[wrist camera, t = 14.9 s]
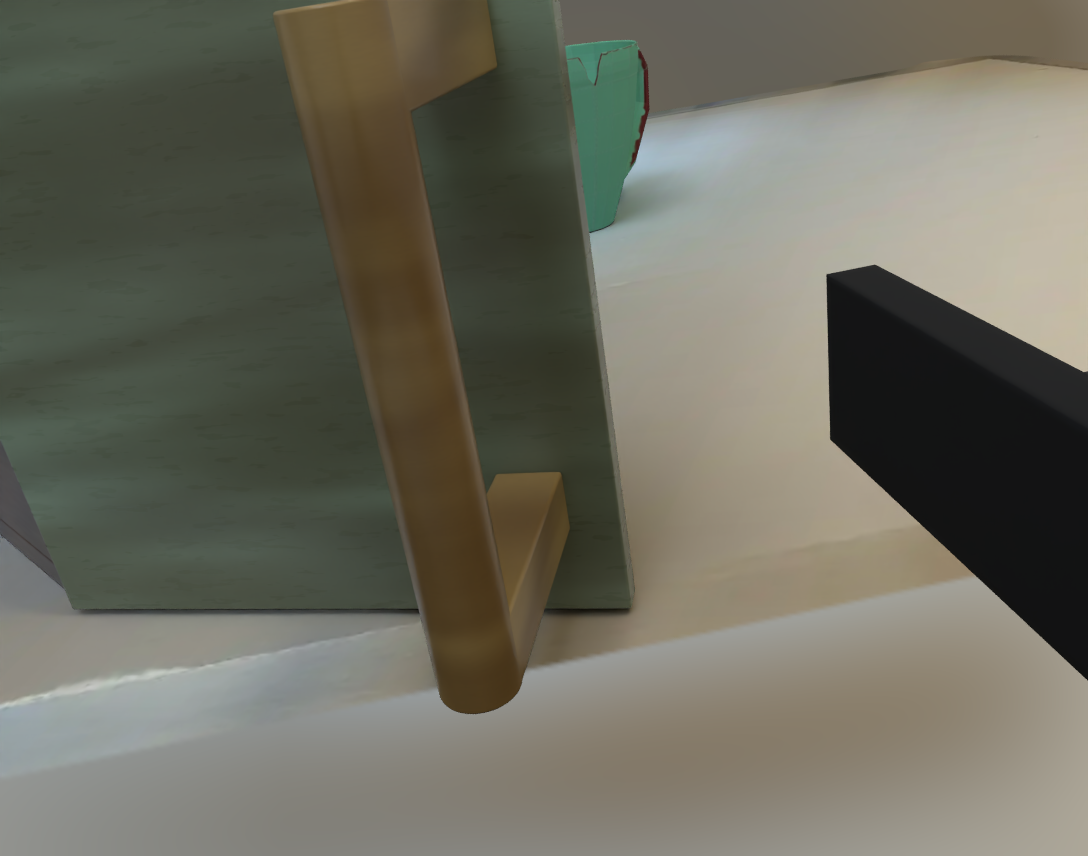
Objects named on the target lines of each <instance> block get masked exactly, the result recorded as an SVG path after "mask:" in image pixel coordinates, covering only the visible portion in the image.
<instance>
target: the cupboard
mask: <svg viewBox="0 0 1088 856" xmlns="http://www.w3.org/2000/svg"><path fill="white" fill-rule="evenodd" d="M0 534H1V535H2V536H3V537H5V538H6V539H7V540H8V541H9V542H10V543H12V544H13V545H14V546H15V547H16V548H17V549H19V550H20V551H21V552H22V553H23V554H25V555H26V556H27V557H28V558H29V559H30V560H32V561H33V562H34V563H35V564H36V565H37V566H39V567H40V568H41V569H42V570H43V571H44V572H46V573H47V574H48V575H49V576H50V577H51V578H53V579H54V580H55V581H56V582H57V583H59V584H60V585H61V586H62V587H63V588H64V586H63V584H62V582H61V579H60V577H59V575H58V572H57V570H56V568H55V565H54V563H53V561H52V558H51V556H50V554H49V551H48V549H47V547H46V545H45V542H44V540H43V538H42V535H41V533H40V531H39V528H38V526H37V524H36V521H35V519H34V517H33V514H32V512H31V510H30V507H29V505H28V503H27V500H26V498H25V496H24V494H23V491H22V489H21V487H20V484H19V482H18V480H17V477H16V475H15V473H14V470H13V468H12V466H11V463H10V461H9V459H8V456H7V454H6V452H5V450H4V447H3V445H2V443H1V440H0Z"/></svg>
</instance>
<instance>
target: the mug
mask: <svg viewBox="0 0 1088 856" xmlns="http://www.w3.org/2000/svg"><path fill="white" fill-rule="evenodd" d="M565 49H566V57H567V65H568V73H569V80H570V88H571V96H572V104H573V112H574V119H575V127H576V135H577V143H578V151H579V158H580V166H581V174H582V182H583V190H584V197H585V205H586V213H587V221H588V228H589V232H592V231H596V230H599V229H602V228H604V227H606V226H609V225H610V224H611V223H613V222H614V218H615V214H616V210H617V206H618V202H619V198H620V194H621V191H622V187H623V183H624V179H625V178H626V176H627V175H628V173H629V171H630V170H631V168H632V167H633V165H634V163H635V161H636V158H637V154H638V150H639V146H640V142H641V139H642V135H643V131H644V127H645V124H646V120H647V116H648V112H649V93H648V92H649V90H648V67H647V64H646V61H645V59H644V57H643V55H642V53H641V51H640V49H639V48H638V47H637V41H633V40H615V41H603V42H593V43H585V44H577V45H569V46H565Z"/></svg>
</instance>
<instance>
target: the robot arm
mask: <svg viewBox="0 0 1088 856" xmlns="http://www.w3.org/2000/svg"><path fill="white" fill-rule="evenodd" d="M827 317H828V361H829V404H830V440H831V441H832V442H833V443H835V444H836V445H837V446H838V447H839V448H840V449H841V450H842V451H843V452H844V453H845V454H846V455H847V456H848V457H850V458H851V459H852V460H853V461H854V462H855V463H856V464H857V465H858V466H859V467H860V468H861V469H862V470H863V471H864V472H866V473H867V474H868V475H869V476H870V477H871V478H872V479H873V480H874V481H875V482H876V483H877V484H878V485H879V486H880V487H882V488H883V489H884V490H885V491H886V492H887V493H888V494H889V495H890V496H891V497H892V498H893V499H894V500H895V501H897V502H898V503H899V504H900V505H901V506H902V507H903V508H904V509H905V510H906V511H907V512H908V513H909V514H910V515H911V516H913V517H914V518H915V519H916V520H917V521H918V522H919V523H920V524H921V525H922V526H923V527H924V528H925V529H926V530H927V531H929V532H930V533H931V534H932V535H933V536H934V537H935V538H936V539H937V540H938V541H939V542H940V543H941V544H942V545H944V546H945V547H946V548H947V549H948V550H949V551H950V552H951V553H952V554H953V555H954V556H955V557H956V558H957V559H958V560H960V561H961V562H962V563H963V564H964V565H965V566H966V567H967V568H968V569H969V570H970V571H971V572H972V573H973V574H975V575H976V576H977V577H978V578H979V579H980V580H981V581H982V582H983V583H984V584H985V585H986V586H987V587H988V588H989V589H991V590H992V591H993V592H994V593H995V594H996V595H997V596H998V597H999V598H1000V599H1001V600H1002V601H1003V602H1005V603H1006V604H1007V605H1008V606H1009V607H1010V608H1011V609H1012V610H1013V611H1014V612H1015V613H1016V614H1017V615H1018V616H1019V617H1020V618H1022V619H1023V620H1024V621H1025V622H1026V623H1027V624H1028V625H1029V626H1030V627H1031V628H1032V629H1033V630H1034V631H1035V632H1037V633H1038V634H1039V635H1040V636H1041V637H1042V638H1043V639H1044V640H1045V641H1046V642H1047V643H1048V644H1049V645H1050V646H1051V647H1052V648H1054V649H1055V650H1056V651H1057V652H1058V653H1059V654H1060V655H1061V656H1062V657H1063V658H1064V659H1065V660H1067V662H1069V663H1070V664H1071V665H1072V666H1073V667H1074V668H1075V669H1076V670H1077V671H1078V672H1079V673H1080V674H1082V676H1083V677H1085V678H1086V679H1087V680H1088V371H1087V372H1082V371H1080V370H1078V369H1076V368H1074V367H1073V366H1071V365H1069V364H1067V363H1065V362H1063V361H1061V360H1059V359H1057V358H1055V357H1053V356H1051V355H1049V354H1047V353H1045V352H1043V351H1041V350H1040V349H1038V348H1036V347H1034V346H1032V345H1030V344H1028V343H1026V342H1024V341H1022V340H1020V339H1018V338H1016V337H1014V336H1012V335H1010V334H1009V333H1007V332H1005V331H1003V330H1001V329H999V328H997V327H995V326H993V325H991V324H989V323H987V322H985V321H983V320H981V319H979V318H977V317H976V316H974V315H972V314H970V313H968V312H966V311H964V310H962V309H960V308H958V307H956V306H954V305H952V304H950V303H948V302H946V301H945V300H943V299H941V298H939V297H937V296H935V295H933V294H931V293H929V292H927V291H925V290H923V289H921V288H919V287H917V286H915V285H913V284H912V283H910V282H908V281H906V280H904V279H902V278H900V277H898V276H896V275H894V274H892V273H890V272H888V271H886V270H884V269H882V268H881V267H879V266H877V265H871V266H866V267H861V268H856V269H851V270H846V271H841V272H836V273H831V274H827Z"/></svg>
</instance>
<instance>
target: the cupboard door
mask: <svg viewBox="0 0 1088 856" xmlns="http://www.w3.org/2000/svg"><path fill="white" fill-rule="evenodd" d="M0 440H1V443H2V445H3V447H4V450H5V452H6V454H7V456H8V459H9V461H10V463H11V466H12V468H13V470H14V473H15V475H16V477H17V480H18V482H19V484H20V487H21V489H22V491H23V494H24V496H25V498H26V500H27V503H28V505H29V507H30V510H31V512H32V514H33V517H34V519H35V521H36V524H37V526H38V528H39V531H40V533H41V535H42V538H43V540H44V542H45V545H46V547H47V549H48V551H49V554H50V556H51V558H52V561H53V563H54V565H55V568H56V570H57V572H58V575H59V577H60V579H61V582H62V584H63V586H64V589H65V591H66V593H67V596H68V598H69V600H70V602H71V605H72V607H73V609H419V613H420V617H421V621H422V625H423V629H424V633H425V638H426V642H427V646H428V650H429V654H430V658H431V662H432V666H433V670H434V674H435V678H436V682H437V686H438V690H439V694H440V698H441V700H442V701H443V703H444V704H445V705H446V706H448V707H449V708H450V709H452V710H454V711H456V712H460V713H465V714H478V713H485V712H489V711H492V710H495V709H497V708H499V707H501V706H503V705H504V704H506V703H508V702H509V701H510V700H511V699H513V697H514V696H515V695H516V694H517V693H518V691H519V689H520V687H521V684H522V679H523V675H524V673H525V669H526V666H527V663H528V660H529V657H530V654H531V650H532V647H533V644H534V641H535V638H536V634H537V631H538V628H539V625H540V622H541V619H542V615H543V612H544V609H568V608H631V607H632V602H633V597H634V592H635V587H634V579H633V571H632V563H631V556H630V548H629V540H628V532H627V524H626V517H625V509H624V501H623V493H622V486H621V478H620V470H619V462H618V454H617V447H616V439H615V431H614V423H613V415H612V408H611V400H610V392H609V384H608V376H607V369H606V361H605V353H604V345H603V338H602V330H601V322H600V314H599V306H598V299H597V291H596V283H595V275H594V267H593V260H592V252H591V244H590V236H589V228H588V221H587V213H586V205H585V197H584V190H583V182H582V174H581V166H580V158H579V151H578V143H577V135H576V127H575V119H574V112H573V104H572V96H571V88H570V80H569V73H568V65H567V57H566V49H565V42H564V34H563V26H562V18H561V11H560V3H559V0H0Z"/></svg>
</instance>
